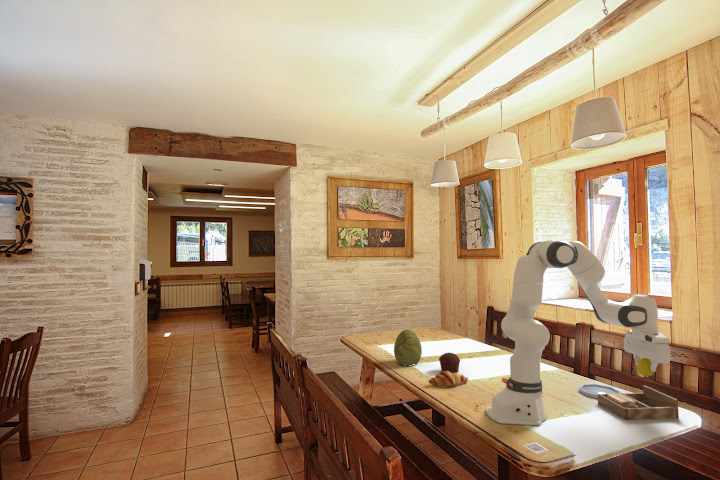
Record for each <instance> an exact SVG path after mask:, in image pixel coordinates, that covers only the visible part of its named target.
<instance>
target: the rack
mask: <svg viewBox="0 0 720 480" xmlns="http://www.w3.org/2000/svg"><path fill="white" fill-rule="evenodd" d="M613 394H622V395H624V396H626V397H628V398H630V399H632V400H634V401H636V406H638V408H625V407H623V406H621V405H619V404H618V403H616V402H614V401H612V400H610V399H608V397H607V394H598V399H597V404H598V405H600V406H602V407H603V408H605V409H607V410H608V411H611V413H614V414H615V415H617V416H618V417H621V418H622V419H624V420H625V421H629V420H631V421H632V420H663V419H662V418H667V419H679V417H680V416H679V400H678V399H677V398H675V397H673V396H670V395H667V394H665V393H664V392H660V391H659V390H657V389H654V388H652V387H650V386H647V385H642V392H621V393H613ZM659 418H660V419H659Z"/></svg>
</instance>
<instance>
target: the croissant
mask: <svg viewBox="0 0 720 480" xmlns="http://www.w3.org/2000/svg"><path fill="white" fill-rule="evenodd" d="M468 381H469V377H467V376H465V375H463V374H459V373H451V372H449V371H440V372H439V373H438V374H436V375H435V377H432V378H430V379H428V383H429V384H431V385H432V386H435V387H439V386H445V387H444V388H448V387H447V386H454V387H458V386H460V385H459V384H461V385H462V384H466V383H467V382H468Z"/></svg>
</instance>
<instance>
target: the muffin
mask: <svg viewBox="0 0 720 480" xmlns="http://www.w3.org/2000/svg"><path fill="white" fill-rule="evenodd" d="M438 361H439V364H440V370H442V371H449V372H451V373H457V372H458V373H459V370H460V362H461V359H460V358H459V356H458V355H457V354H456V353H453V352H445V353H443V354H441V355H440V357H438ZM442 371H441V372H442ZM458 373H457V374H458Z"/></svg>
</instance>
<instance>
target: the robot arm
mask: <svg viewBox="0 0 720 480" xmlns="http://www.w3.org/2000/svg"><path fill="white" fill-rule="evenodd" d="M563 268H567V269H568V270H569V271H570V273H571V274H572V276H573V277H574V278H575V279H576V281H577V284H578V285H579V288H580V289H581V291H582V292H583V294H584V295H585V297H586V298H587V300H588V301H589V303H590V305H591V306H592V310H593V313H594V316H595V317H596V319H597V320H598V321H600V322H601V323H603V324H608V325H609V324H610V325H614V326H619V327H624V328H631V329H629V330H626V332H625V335H624V338H623V349H624V351H625V352H626V353H630V354H632V355H633V357H632V358H633V359H634V361H635V366H637V365H638V362H639V360H640V359H641V358H646V359H649V360H651V363H652V364H651V366H649V370H650V371H653V372H654V373H655V372H657V367H658V366H659V364H669V363H670V362H671V360H672V359H671V357H672V356H671V348H670V345H669V343H670V337H668V336H667V335H665V334H664V333H662V332H661V331H659V326H658V323H657V322H658V321H657V320H658V318H659V316H658V315H659V314H658V305H657V301H656V298H654V297H652V296H649V295H645V294H644V295H643V294H638V293H637V294H632V296H631V297H630V298H628V299H626V300H624V301H622V302H619V301H614V300H612V299H609V298H608V297H606V296H605V294H604V292H603V291H602V290H601V287H600V286H599V285H598V284H599V283H600V282H601V281H602V280H603V279H604V278H605V275H606V270H605V266H604V265H603V264H602V262H601V261H600V260H599V258H597V256H596V255H595V254H594V253H593V252H592V250H590V249H589V248H588V247H587V246H586V245H585V244H584V243H582V242H581V241H578V240H573V241H569V242H566V241H562V240H543V241H538V242H535V243H533V244H532V245H531V246H529V248H528V250H527V252H526V254H525V255H522V256H520V257H519V258H518V259H517V261H516V264H515V268H514V269H515V270H514V273H513V282H512V290H511V291H512V292H511V299H510V300H511V301H510V304H509V307H508V308H507V309H508V310H507V312H506V315H505V316H504V317H503V319H502V320H501V323H500V325H501V326H500V327H501V330H502V332H503V333H504V334H505V336H506V337H507V338H508V339H510V340H512V341H514V344H515V346H514V351H513V353H512V354H511V356H510V359H509V366H510V367H509V369H510V371H509V372H510V376H509V378H507V377H505V376H503V377H502V378H501V382H502V383H504V384H505V385H506V386H505V387H504V388H502V390H500V391H499V392H497V393H495V394H494V395H493V396H492V399H491V406H490V405H489V406H486V407H485V413H486V415H487V416H488V417H489V418H491V420H493V421H494V422H496V423H499V424H507V425H508V424H510V425H523V426H524V425H525V426H541V425H542V423H543V422H544V421H546V420H547V415H546V412H545V407H544V403H543V396H542V395H543V381H542V379H541V359H542V353H543V351H544V348H545V347H547V345H548V344H549V341H550V340H551V339H550V337H551V336H550V335H551V334H550V331H549V329H548V327H547V326H545V324H543V323H542V322H540V321H539V320H537V319H534V317H535V314H536V312H537V309H538V308H539V307H540V306H541V305H542V301H543V287H544V275H545V272H546V270H547V269H563Z"/></svg>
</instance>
